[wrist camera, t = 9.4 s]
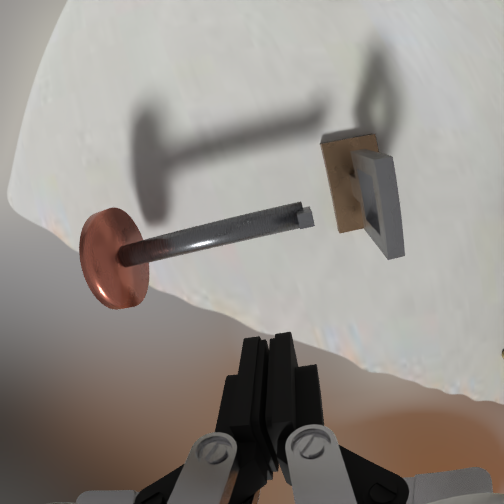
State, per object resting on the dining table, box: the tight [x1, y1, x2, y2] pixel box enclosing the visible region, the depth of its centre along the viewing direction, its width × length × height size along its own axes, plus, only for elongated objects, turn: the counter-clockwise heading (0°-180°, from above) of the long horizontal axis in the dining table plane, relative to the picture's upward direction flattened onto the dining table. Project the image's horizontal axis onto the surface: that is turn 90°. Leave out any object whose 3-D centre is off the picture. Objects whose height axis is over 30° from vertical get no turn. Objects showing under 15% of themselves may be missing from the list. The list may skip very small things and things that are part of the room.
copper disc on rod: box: [79, 202, 315, 310], centre depth 29 cm, size 10×21×10 cm, turn 105°
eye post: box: [320, 134, 405, 260], centre depth 28 cm, size 10×6×12 cm, turn 15°
